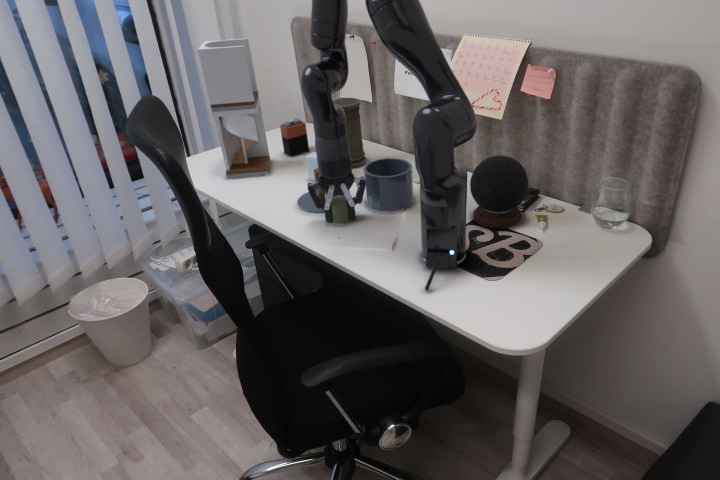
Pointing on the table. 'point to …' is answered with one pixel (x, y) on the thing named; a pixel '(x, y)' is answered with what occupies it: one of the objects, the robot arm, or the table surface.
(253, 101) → the white shelf tower
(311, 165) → the product box
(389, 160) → the canister
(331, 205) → the tin
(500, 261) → the table surface
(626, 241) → the table surface
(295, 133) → the battery
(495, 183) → the black ball on stand
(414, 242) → the table surface
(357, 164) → the container
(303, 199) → the lid
